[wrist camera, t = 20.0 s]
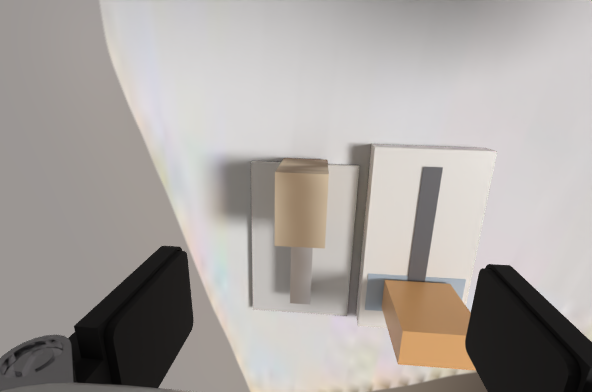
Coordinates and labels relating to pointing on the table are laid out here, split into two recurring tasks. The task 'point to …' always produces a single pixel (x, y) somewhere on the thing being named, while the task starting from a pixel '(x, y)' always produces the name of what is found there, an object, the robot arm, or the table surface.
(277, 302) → the tool mat
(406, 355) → the slide tab
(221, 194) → the table surface
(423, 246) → the switch housing
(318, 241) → the tan block on stem
